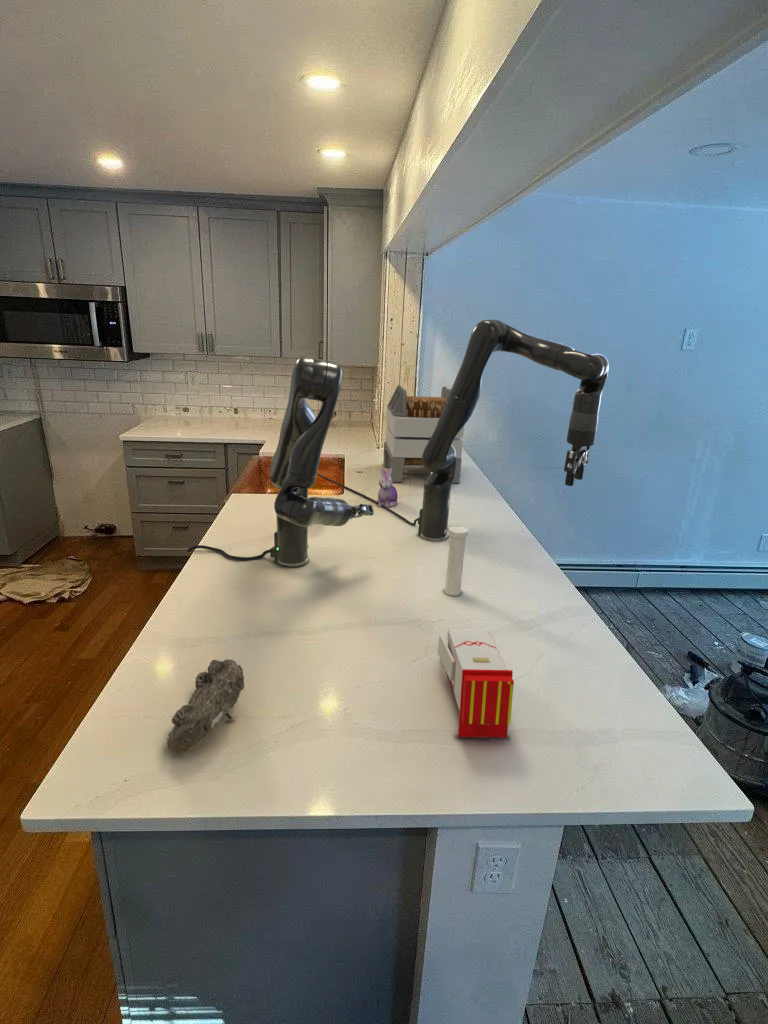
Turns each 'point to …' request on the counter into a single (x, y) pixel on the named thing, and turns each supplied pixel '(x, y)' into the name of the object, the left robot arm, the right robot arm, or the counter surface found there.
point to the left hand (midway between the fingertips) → (359, 514)
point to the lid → (458, 532)
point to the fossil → (206, 705)
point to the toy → (478, 682)
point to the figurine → (386, 489)
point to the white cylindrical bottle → (455, 566)
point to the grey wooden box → (414, 431)
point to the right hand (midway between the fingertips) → (573, 482)
